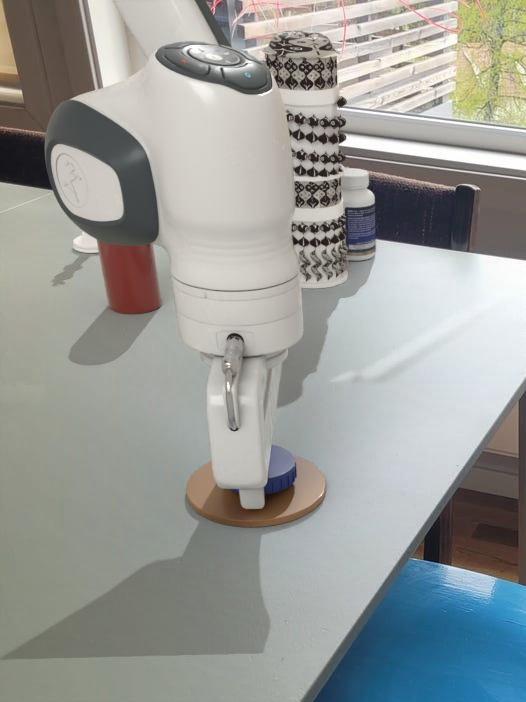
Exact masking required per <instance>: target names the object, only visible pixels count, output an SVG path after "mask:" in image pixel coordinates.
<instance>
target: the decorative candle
mask: <svg viewBox="0 0 526 702" xmlns="http://www.w3.org/2000/svg"><path fill="white" fill-rule="evenodd" d="M261 52H263V53H264V58H265V63H264V65H265V66H267V67H268V68H269V70H270V71H271V72H272V74H273V76H274V78H275V80H276V83H277V85H278V88H279V91H280V94H281V97H282V100H283V104H284V108H285V112H286V117H287V122H288V128H289V134H290V142H291V149H292V159H293V170H294V184H295V201H296V204H295V211H294V216H293V221H292V240H293V245H294V248H295V251H296V253H297V256H298V260H299V265H300V282H301V289H326V288H327V289H328V288H332V287H333V288H334V287H336V286H339V285H342V284H344V283H345V282H346V281H347V280H348V279H349V273H348V270H347V269H348V265H349V260H347V258H346V255H347V253H346V252H347V251H348V247H347V246H346V243H345V242H344V241H343V240H344V239H345V238H346V235H347V231H346V230H345V228H344V227H343V226H344V225H345V222H346V221H347V218H346V216H345V214H344V213H343V198H342V197H341V176H342V175H344V169H345V166H344V165H343V164H341V163H343V162H345V160H346V159H347V156H346V153H343V152H342V151H341V150H340V148H339V147H340V144H342V143H344V142H345V141H347V135H346V134H345V133H343V132H342V131H341V129H342V128H343V127H345V126H346V124H347V119H346V118H345V117H343V116H342V115H341V114H339V115H338V109H339V110H340V109H342V108H343V107H344V106H346V105H347V103H348V101H347V99H346V98H345V97H344V96H343V95H341V96H340V83H339V82H338V57H337V56H339V55H340V54H341V51H339V50H338V49H336V48H335V47H334V45H333V44H332V42H331V40H330V38H329V37H328V36H327V35H326V34H323V33H322V32H321V33H320V32H317V31H307V30H283V31H282V30H281V31H279V32H275V33H274V34H273V35H272V36H271V39H270V41H269V43H268V45H267V46H266V47H263V48H262V50H261Z"/></svg>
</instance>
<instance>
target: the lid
mask: <svg viewBox="0 0 526 702" xmlns="http://www.w3.org/2000/svg"><path fill="white" fill-rule="evenodd" d="M293 455H294V454H293V453H292V452H290V451H289V450H287V449H286V448H284V447H282V446H279V445H275V444H272V447H271V455H270V463H269V471H268V479H267V484H266V485H265V494H271V493H276V492H279V491H282V490H284V489H286V488H288V487H290V486H291V485H292V484H293V482H295V478H297V470H296V462H295V458H294V456H295V455H294V456H293ZM230 490H232V491H235V492H238V493H239V489H230Z"/></svg>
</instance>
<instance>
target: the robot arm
mask: <svg viewBox="0 0 526 702" xmlns="http://www.w3.org/2000/svg"><path fill="white" fill-rule="evenodd" d="M111 1H112V3H113V5H114V6H115V8H116V10H117V11H118V13H119V15H120V17H121V18H122V20H123V21H124V23H125V25H126V27H127V28H128V30H129V32H130V33H131V36H132V37H133V38H134V41H135V42H136V44H137V45H138V48H139V49H140V50H141V52H142V53H143V56H144V57H145V59H146V60H147V61H146V64H145V65H144V66H143V67H142V68H141V69H139V70H138V71H136V72H135V73H134V74H132V75H130V76H128V77H127V78H125V79H123V80H120V81H118V82H117V83H113V84H111V85H108V86H104V87H100V88H98V89H95V90H91V91H87V92H83V93H81V94H78V95H76V96H74V97H72V98H70V99H66V100H64V101H61V102H60V103H59V104H58V105H57V106H56V107H55V109H54V110H53V112H52V114H51V116H50V118H49V120H48V124H47V127H46V131H45V136H44V160H45V167H46V172H47V177H48V180H49V183H50V186H51V189H52V193H53V195H54V197H55V199H56V201H57V203H58V206H59V207H60V208H61V210H62V211H63V213H65V215H66V216H67V218H68V219H69V220H70V221H71V222H72V223H73V224H74V225H75V226H77V227H78V228H79V229H80V230H81V231H82V232H83V231H84V232H86V233H87V234H88V235H90V236H92V237H93V238H95V239H97V240H99V241H101V242H103V243H107V244H112V245H122V246H143V245H148V244H153V246H154V245H155V246H158V247H160V248H162V249H164V250H165V252H167V254H168V258H169V271H170V281H171V286H172V293H173V295H172V296H173V301H174V307H175V315H176V322H177V323H176V324H177V330H178V335H179V338H180V340H181V342H182V343H183V344H185V345H186V346H187V347H189V348H191V349H193V350H194V351H197V352H199V357H200V360H201V361H202V362H203V364H205V365H207V366H209V367H210V370H209V374H208V378H207V381H206V397H205V398H206V420H207V429H208V440H209V450H210V459H211V460H210V462H211V461H212V470H213V476H214V479H215V482H216V484H217V485H218V487H220V488H223V489H239V494H240V502H241V506H242V507H243V508H245V509H261V508H263V507H264V505H265V496H266V495H265V485H266V484H267V479H268V471H269V463H270V455H271V447H272V445H273V438H274V430H275V423H276V414H277V406H278V399H279V391H280V382H281V376H282V369H283V363H284V361H285V360H286V359H287V358H288V356H289V355H288V354H289V350H288V349H290V348H291V347H293V346H294V345H296V344H297V343H298V342H299V341H300V340H301V339H302V337H303V335H304V331H305V330H304V315H303V314H304V313H303V299H302V288H301V282H300V265H299V260H298V256H297V253H296V251H295V248H294V245H293V240H292V221H293V216H294V211H295V204H296V201H295V184H294V170H293V159H292V149H291V142H290V134H289V128H288V122H287V117H286V112H285V108H284V104H283V100H282V97H281V94H280V91H279V88H278V85H277V83H276V80H275V78H274V76H273V74H272V72H271V71H270V70H269V68H268V67H267V66H266V65H265V63H263V62H262V61H260V60H259V59H258V58H256V56H254V55H251V54H250V53H248V52H245V51H243V50H241V49H238V48H234V47H233V46H232V45H231V43H230V41H229V39H228V38H227V36H226V34H225V33H224V31H223V29H222V28H221V25H220V24H219V22H218V21H217V18H216V17H215V15H214V14H213V11H212V10H211V7H210V6H209V4H208V3H207V0H111Z"/></svg>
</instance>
